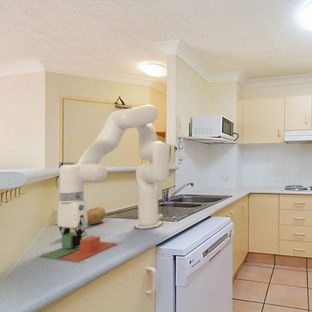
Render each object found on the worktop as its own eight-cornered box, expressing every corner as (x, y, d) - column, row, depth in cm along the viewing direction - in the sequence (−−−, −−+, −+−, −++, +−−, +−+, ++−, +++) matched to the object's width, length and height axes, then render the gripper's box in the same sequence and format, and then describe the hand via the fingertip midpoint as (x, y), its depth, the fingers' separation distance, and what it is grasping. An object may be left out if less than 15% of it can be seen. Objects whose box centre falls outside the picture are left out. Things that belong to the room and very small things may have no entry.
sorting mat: (83, 240, 97) (83, 239, 97) (116, 244, 92) (116, 243, 92) (41, 256, 81) (41, 254, 82) (78, 261, 76) (78, 260, 76)
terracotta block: (90, 247, 88) (90, 235, 88) (99, 248, 87) (99, 236, 87) (80, 252, 84) (79, 239, 84) (89, 253, 82) (89, 240, 82)
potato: (76, 228, 116) (76, 212, 116) (91, 220, 130) (91, 206, 130) (97, 227, 117) (97, 211, 117) (109, 220, 131) (109, 205, 131)
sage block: (73, 243, 91) (73, 231, 91) (81, 244, 89) (81, 232, 89) (61, 247, 86) (61, 235, 86) (70, 248, 85) (70, 236, 85)
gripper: (97, 196, 89) (97, 243, 89) (65, 194, 94) (65, 240, 94) (79, 199, 82) (79, 251, 82) (45, 197, 87) (45, 246, 87)
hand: (71, 244), depth 88 cm, fingers closed on sage block, 4 cm apart
